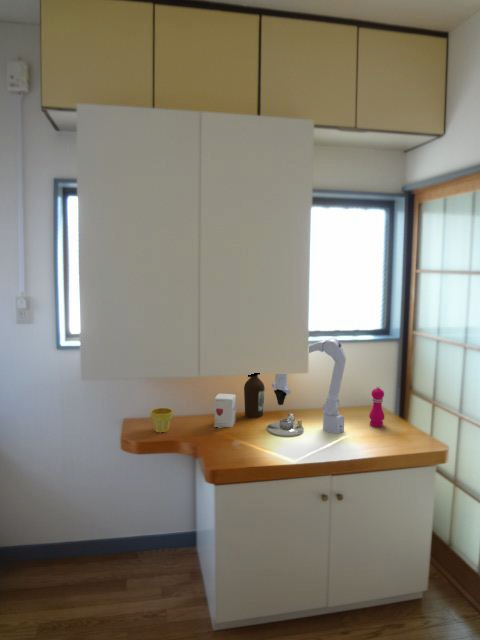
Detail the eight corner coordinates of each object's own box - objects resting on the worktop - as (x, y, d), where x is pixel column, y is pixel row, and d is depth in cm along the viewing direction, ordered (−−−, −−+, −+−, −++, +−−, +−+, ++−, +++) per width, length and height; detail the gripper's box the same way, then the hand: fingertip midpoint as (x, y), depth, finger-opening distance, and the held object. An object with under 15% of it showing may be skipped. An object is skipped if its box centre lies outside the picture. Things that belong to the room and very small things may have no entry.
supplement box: (213, 428, 224) (213, 398, 222) (217, 422, 232) (218, 393, 231) (232, 429, 222) (232, 399, 220) (235, 423, 231) (235, 394, 229)
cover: (295, 429, 216) (295, 420, 216) (281, 429, 215) (282, 421, 215) (290, 424, 223) (290, 416, 222) (277, 425, 221) (278, 417, 221)
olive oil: (240, 418, 238) (240, 370, 235) (248, 412, 248) (248, 366, 245) (259, 421, 234) (260, 372, 231) (267, 415, 244) (267, 368, 241)
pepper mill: (382, 422, 233) (384, 383, 231) (385, 427, 226) (387, 387, 224) (367, 422, 234) (369, 383, 231) (370, 427, 227) (371, 387, 224)
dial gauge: (295, 423, 231) (295, 413, 231) (287, 426, 227) (288, 416, 226) (289, 421, 234) (290, 411, 233) (282, 424, 229) (282, 414, 229)
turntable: (309, 435, 212) (309, 425, 212) (273, 438, 209) (273, 428, 208) (296, 422, 229) (296, 414, 228) (263, 425, 225) (263, 416, 225)
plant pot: (177, 429, 222) (177, 409, 221) (164, 436, 213) (164, 415, 212) (159, 425, 227) (158, 406, 225) (146, 432, 217) (146, 412, 216)
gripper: (266, 375, 231) (266, 401, 232) (281, 381, 218) (281, 409, 219) (278, 373, 234) (278, 399, 235) (294, 380, 221) (293, 407, 222)
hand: (280, 404), depth 227 cm, fingers closed
